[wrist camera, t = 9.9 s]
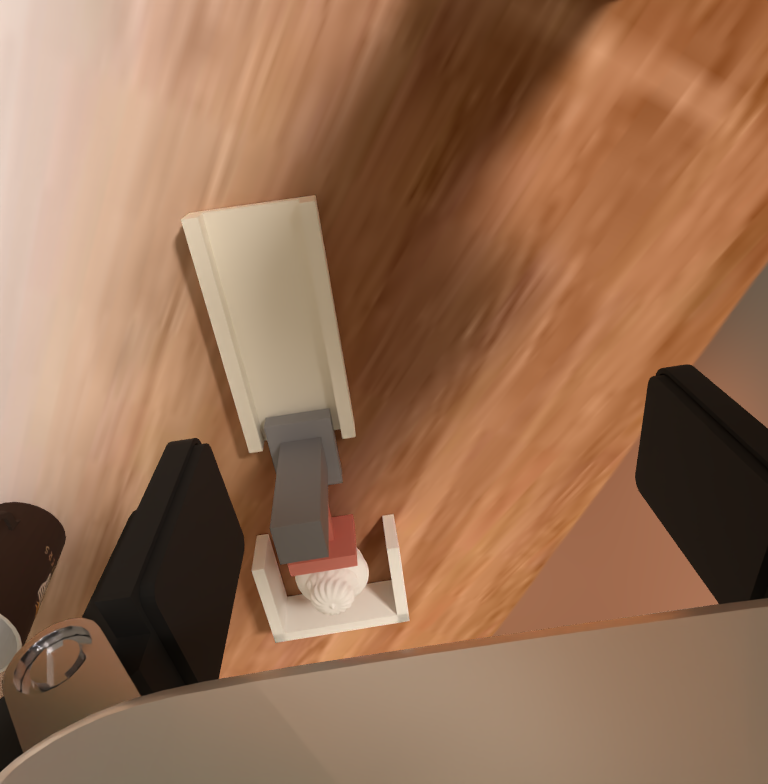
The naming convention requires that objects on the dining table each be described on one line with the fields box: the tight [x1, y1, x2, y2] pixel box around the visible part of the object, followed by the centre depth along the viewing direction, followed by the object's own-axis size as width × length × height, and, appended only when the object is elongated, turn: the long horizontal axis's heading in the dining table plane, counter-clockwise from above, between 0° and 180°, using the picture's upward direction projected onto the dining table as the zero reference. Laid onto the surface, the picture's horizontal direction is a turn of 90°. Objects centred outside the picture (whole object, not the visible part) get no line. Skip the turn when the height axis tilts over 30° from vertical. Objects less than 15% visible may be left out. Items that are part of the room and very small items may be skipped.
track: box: [181, 195, 356, 453], centre depth 37 cm, size 8×17×2 cm, turn 7°
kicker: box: [264, 408, 358, 576], centre depth 38 cm, size 5×12×10 cm, turn 7°
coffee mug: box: [0, 502, 66, 673], centre depth 40 cm, size 12×9×10 cm
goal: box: [252, 514, 409, 643], centre depth 48 cm, size 12×9×4 cm
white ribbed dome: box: [295, 547, 369, 616], centre depth 45 cm, size 6×6×7 cm
